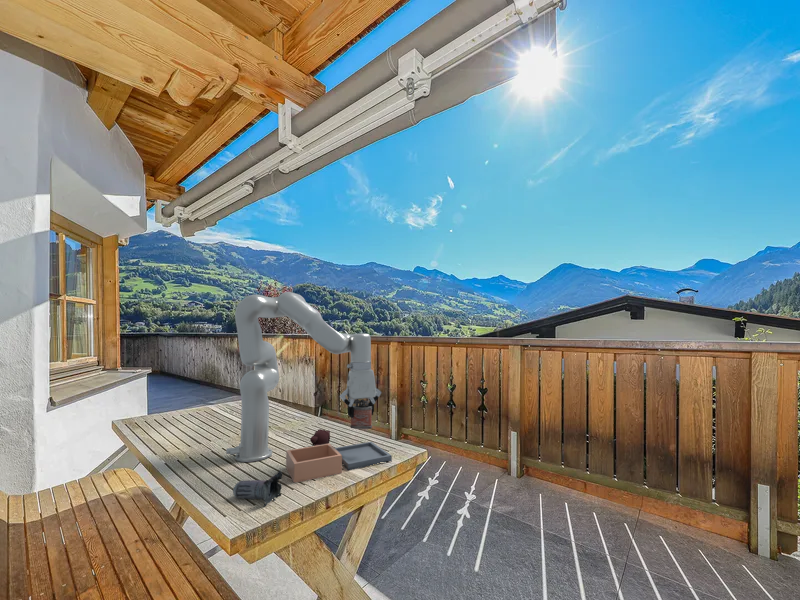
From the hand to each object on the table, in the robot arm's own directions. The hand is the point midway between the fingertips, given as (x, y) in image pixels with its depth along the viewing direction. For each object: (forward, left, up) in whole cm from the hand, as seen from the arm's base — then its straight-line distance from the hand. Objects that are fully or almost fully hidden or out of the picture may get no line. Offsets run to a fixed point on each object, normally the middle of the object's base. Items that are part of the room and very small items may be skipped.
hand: (361, 415), depth 125 cm
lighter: (0, 0, -5) cm, 5 cm away
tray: (0, 0, -15) cm, 15 cm away
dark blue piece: (-37, -15, -15) cm, 43 cm away
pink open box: (-18, -3, -15) cm, 24 cm away
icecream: (-9, +20, -15) cm, 26 cm away
